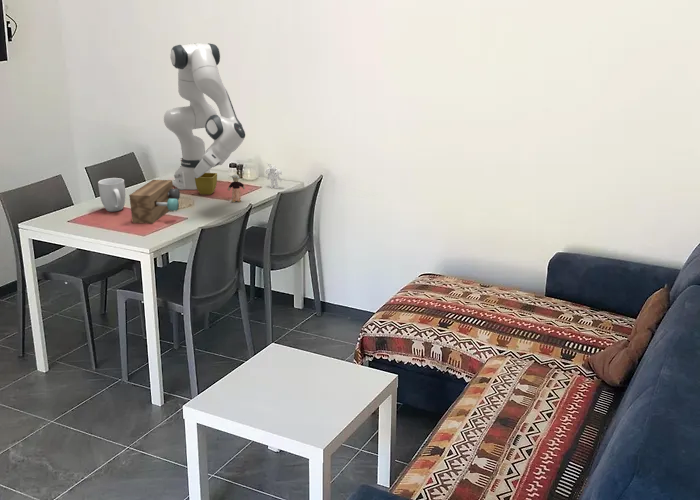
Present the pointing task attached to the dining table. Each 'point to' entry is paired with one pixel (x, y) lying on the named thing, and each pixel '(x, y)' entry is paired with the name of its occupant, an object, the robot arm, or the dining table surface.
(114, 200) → the mug
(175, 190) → the knob black
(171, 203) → the knob teal
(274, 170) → the flower shoulder figurine
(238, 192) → the grandmother figurine
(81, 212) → the dining table surface
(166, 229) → the dining table surface
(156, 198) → the walnut mount
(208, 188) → the flower pot
